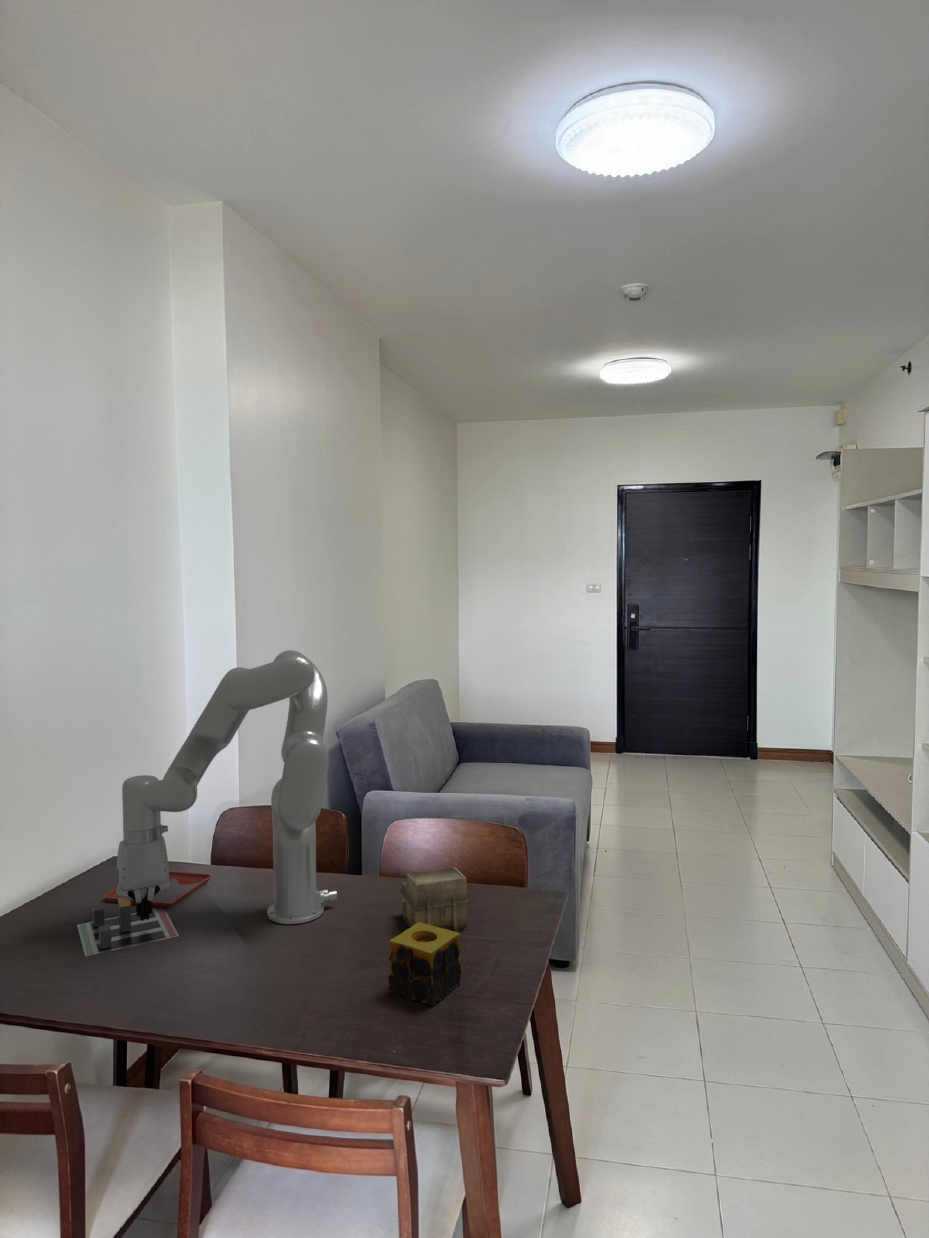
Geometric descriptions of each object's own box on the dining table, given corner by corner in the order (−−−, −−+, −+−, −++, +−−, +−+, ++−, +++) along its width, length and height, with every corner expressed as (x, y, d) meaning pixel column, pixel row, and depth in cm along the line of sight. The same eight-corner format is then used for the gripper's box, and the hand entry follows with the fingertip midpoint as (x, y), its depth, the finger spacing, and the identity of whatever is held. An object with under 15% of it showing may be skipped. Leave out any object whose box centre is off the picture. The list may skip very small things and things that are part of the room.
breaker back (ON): (102, 919, 180) (102, 903, 180) (104, 924, 178) (103, 908, 178) (92, 921, 179) (92, 905, 179) (94, 926, 177) (93, 910, 177)
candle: (432, 1008, 147) (432, 954, 147) (387, 993, 152) (386, 940, 152) (462, 984, 156) (462, 932, 155) (418, 970, 161) (418, 920, 160)
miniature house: (479, 931, 179) (479, 879, 178) (417, 941, 174) (417, 888, 173) (455, 905, 193) (455, 857, 192) (397, 913, 188) (397, 864, 187)
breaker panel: (164, 913, 188) (163, 906, 188) (179, 942, 173) (178, 935, 173) (77, 931, 179) (77, 924, 179) (85, 963, 164) (85, 955, 164)
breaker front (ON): (109, 940, 170) (109, 924, 170) (111, 946, 168) (111, 929, 167) (99, 942, 169) (98, 926, 169) (100, 948, 167) (100, 931, 166)
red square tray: (102, 909, 191) (102, 895, 191) (149, 881, 209) (149, 868, 209) (171, 917, 187) (171, 902, 187) (213, 887, 205) (213, 874, 204)
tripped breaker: (129, 924, 178) (128, 896, 177) (131, 930, 175) (130, 901, 175) (118, 927, 177) (118, 898, 176) (120, 932, 174) (120, 903, 174)
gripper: (175, 824, 184) (176, 904, 185) (102, 835, 176) (104, 918, 177) (181, 833, 177) (183, 916, 178) (106, 845, 170) (108, 932, 171)
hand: (144, 917), depth 178 cm, fingers closed
